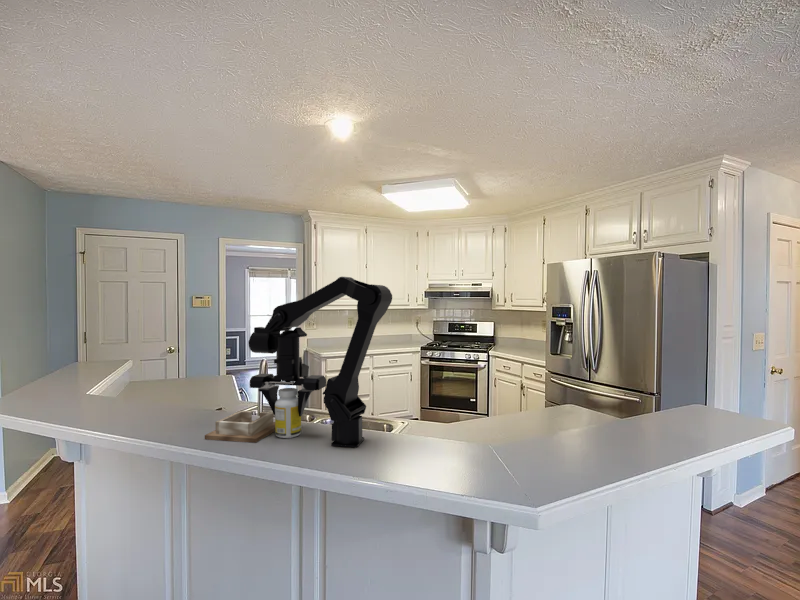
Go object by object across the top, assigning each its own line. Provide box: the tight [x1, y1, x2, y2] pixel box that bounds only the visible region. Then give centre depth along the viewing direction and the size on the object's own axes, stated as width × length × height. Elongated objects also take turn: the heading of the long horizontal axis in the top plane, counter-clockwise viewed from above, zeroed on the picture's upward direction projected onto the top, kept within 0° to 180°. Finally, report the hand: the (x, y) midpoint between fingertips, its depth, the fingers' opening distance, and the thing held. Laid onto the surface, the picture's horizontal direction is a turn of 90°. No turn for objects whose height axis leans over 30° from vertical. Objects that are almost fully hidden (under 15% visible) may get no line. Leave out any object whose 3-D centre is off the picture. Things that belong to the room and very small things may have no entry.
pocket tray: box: [204, 410, 275, 444], centre depth 112 cm, size 14×14×4 cm
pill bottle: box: [274, 387, 302, 439], centre depth 110 cm, size 6×6×12 cm
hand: (288, 415), depth 110 cm, fingers closed on pill bottle, 6 cm apart
